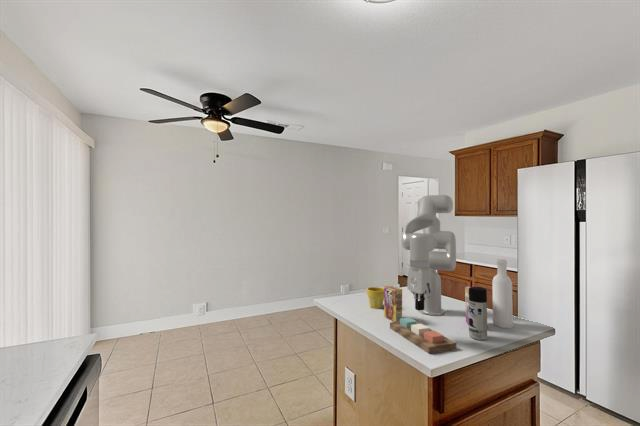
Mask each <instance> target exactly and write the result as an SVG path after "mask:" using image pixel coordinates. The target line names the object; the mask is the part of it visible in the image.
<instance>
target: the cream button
mask: <svg viewBox="0 0 640 426" xmlns="http://www.w3.org/2000/svg"><path fill="white" fill-rule="evenodd" d="M429 329H430V327H429V326H426V325H425V324H423V323H420V324H415V325H411V331H412V332H413V333H415V334H417V335H418V336H419V335H424V332H428V331H429Z"/></svg>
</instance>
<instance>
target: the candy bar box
mask: <svg viewBox="0 0 640 426" xmlns="http://www.w3.org/2000/svg"><path fill="white" fill-rule="evenodd" d="M469 287H470V286H464V297H465V298H464V299H465V301H464V303H465V321H466V323H467V325H468V326H469Z"/></svg>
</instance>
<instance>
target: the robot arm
mask: <svg viewBox="0 0 640 426" xmlns="http://www.w3.org/2000/svg"><path fill="white" fill-rule="evenodd" d="M416 205H417V211H416V216H415V217H414V218H412V219H410V221H409V222H407V224H405V226H404V228H403V231H402V236H401V245H402V248H403V249H405V250H406V251H409V268H408V271H407V287H406V288H407V290H409V292H410V293H412V294H413V299H414V309H415V310H416V311H418V312H420V313H421V314H424V315H427V316H442V315H445V313H446V312H445V309H443V308H442V279H441V276H440V274H439V272H437V271H444V272H445V271H447V272H451V271H454V270H455V269H456V266H457V239H456V235H455V233H454V232H453V231H449V230H441V221H440V219H439V218H438V216H437V214H450V213H452V211H453V209H454V202H453V199H452V197H450V196H449V195H446V194H434V195H433V194H432V195H431V194H429V195H424V196H422V197H421V198H419V199H418V200H417V203H416ZM421 230H422V231H423V232H422V233H421V232H420V233H419V232H418V231H421ZM437 249H438V251H436V250H437ZM439 250H445V251H439Z"/></svg>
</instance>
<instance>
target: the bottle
mask: <svg viewBox="0 0 640 426" xmlns="http://www.w3.org/2000/svg"><path fill="white" fill-rule="evenodd" d="M496 260H497V261H496V264H497V265H496V266H497V269H496V270H497V274H496V275H494V276H493V278H492V281H491V282H492V283H491V286H492V290H491V291H492V324H493V326H495V327H499V328H502V329H512V328H514V317H513V314H514V313H513V308H514V307H513V282H512V280H511V277H509V276H508V274H507V271H508V269H507V265H508V263H507V259H503V258H497V259H496Z"/></svg>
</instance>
